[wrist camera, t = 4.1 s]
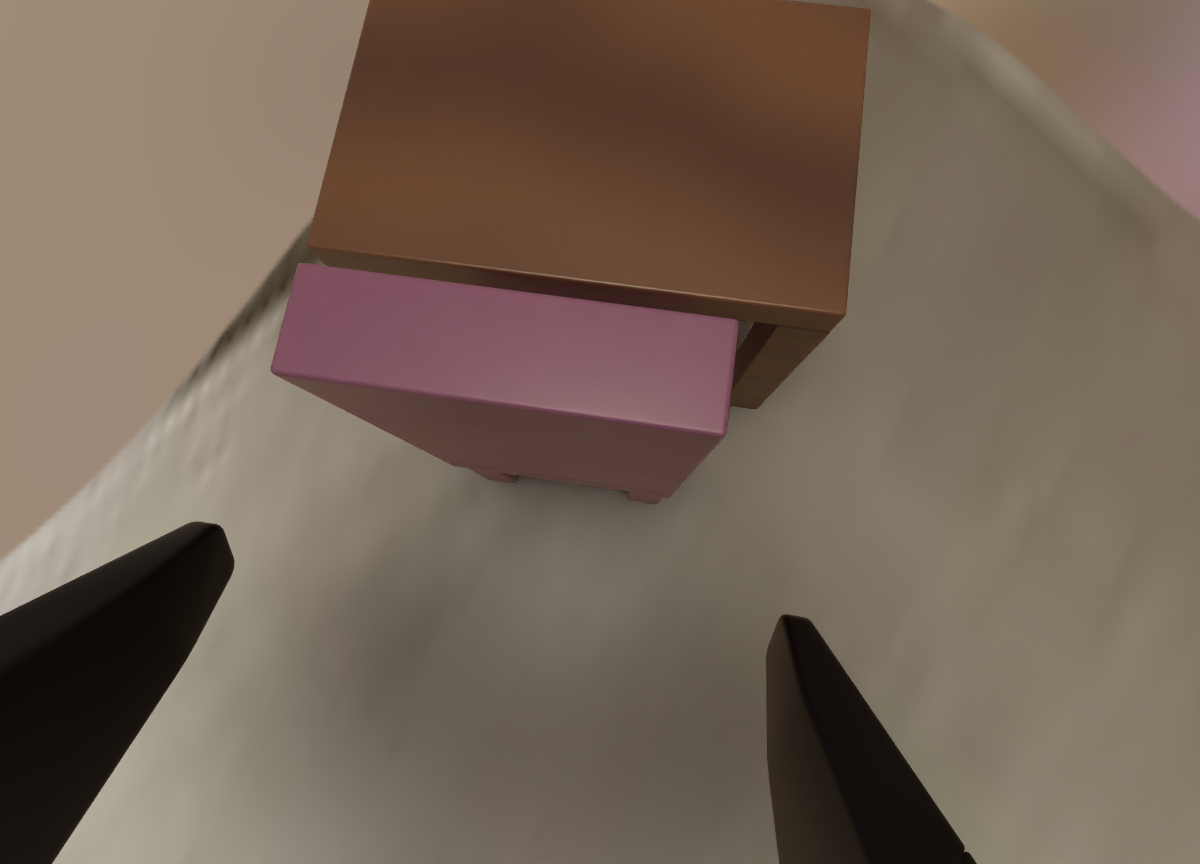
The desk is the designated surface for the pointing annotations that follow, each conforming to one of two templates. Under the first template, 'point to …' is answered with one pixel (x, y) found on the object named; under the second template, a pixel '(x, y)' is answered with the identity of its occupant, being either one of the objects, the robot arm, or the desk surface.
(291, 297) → the chair
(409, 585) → the desk surface
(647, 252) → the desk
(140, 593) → the robot arm
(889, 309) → the desk surface
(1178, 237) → the desk surface
